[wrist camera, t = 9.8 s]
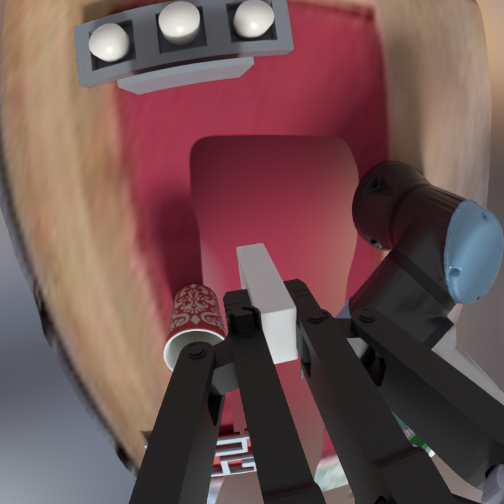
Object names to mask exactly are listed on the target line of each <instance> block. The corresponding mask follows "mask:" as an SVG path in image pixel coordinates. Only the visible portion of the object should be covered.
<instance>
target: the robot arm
mask: <svg viewBox="0 0 504 504" xmlns="http://www.w3.org/2000/svg"><path fill="white" fill-rule="evenodd" d="M352 216H353V221H354V225H355V227H356V230H357V231H358V233H359V234H360V236H361V237H362V238H363V239H364V240H365V241H367V242H368V243H369V244H370V245H372V246H373V247H375V248H377V249H380V250H385V251H390V252H389V254H388V255H387V256H386V257H385V258H384V259H383V261H382V262H381V263H380V264H379V266H378V267H377V268H376V269H375V270H374V272H373V273H372V274H371V275H370V276H369V278H368V279H367V280H366V281H365V282H364V284H363V285H362V286H361V287H360V288H359V289H358V291H357V292H356V293H355V294H354V295H353V296H351V297H350V298H349V299H348V300H347V303H346V304H345V306H344V307H343V308H342V310H341V311H340V312H339V313H338V315H337V316H336V317H335V318H334V317H332V315H331V314H330V313H329V312H328V311H326V310H323V309H321V308H320V307H319V305H318V303H317V302H316V300H315V299H314V297H313V295H311V292H310V291H309V289H308V287H307V286H306V284H305V283H304V282H302V281H300V280H299V279H294V280H289V281H284V282H283V281H282V279H281V277H280V275H279V273H278V271H277V269H276V268H275V266H274V264H273V262H272V260H271V258H270V256H269V254H268V252H267V250H266V249H265V247H264V244H263V243H261V244H254V245H248V246H241V247H236V249H237V257H238V264H239V271H240V279H241V287H242V290H236V291H230V292H226V294H225V296H224V298H223V302H224V307H225V313H226V320H227V326H228V335H227V336H226V338H225V339H224V340H223V341H221V342H219V343H217V344H215V345H213V346H212V345H211V344H209V343H207V342H203V341H197V342H192V343H189V344H187V345H186V346H184V347H183V348H182V350H181V351H180V354H179V356H178V359H177V362H176V365H175V367H174V370H173V373H172V376H171V379H170V382H169V384H168V387H167V390H166V393H165V396H164V399H163V402H162V404H161V407H160V410H159V413H158V416H157V419H156V422H155V425H154V428H153V431H152V434H151V437H150V440H149V443H148V446H147V449H146V452H145V455H144V458H143V461H142V464H141V467H140V470H139V473H138V476H137V480H136V483H135V486H134V489H133V492H132V495H131V499H130V502H129V504H206V503H207V497H208V491H209V486H210V480H211V474H212V469H213V463H214V457H215V451H216V446H217V440H218V434H219V428H220V423H221V417H222V411H223V406H224V400H225V394H226V393H228V392H230V391H233V390H235V389H237V388H239V389H240V394H241V399H242V404H243V409H244V414H245V419H246V424H247V429H248V433H249V438H250V443H251V447H252V452H253V457H254V461H255V466H256V470H257V475H258V479H259V483H260V487H261V492H262V496H263V501H264V504H326V502H325V499H324V497H323V494H322V491H321V489H320V487H319V485H318V484H317V483H315V481H314V480H313V477H312V474H311V471H310V469H309V466H308V463H307V460H306V457H305V454H304V451H303V448H302V445H301V442H300V440H299V436H298V434H297V431H296V428H295V425H294V422H293V419H292V416H291V413H290V410H289V407H288V404H287V401H286V398H285V395H284V392H283V389H282V386H281V384H280V380H279V377H278V374H277V371H276V368H275V365H274V364H276V363H281V362H286V361H291V360H295V359H298V353H297V350H298V352H299V355H300V357H301V379H303V378H304V375H305V378H306V380H307V383H308V385H309V388H310V390H311V393H312V395H313V397H314V400H315V402H316V405H317V407H318V409H319V412H320V414H321V416H322V419H323V422H324V424H325V426H326V429H327V431H328V434H329V436H330V439H331V441H332V443H333V446H334V448H335V451H336V453H337V456H338V458H339V460H340V463H341V465H342V468H343V470H344V473H345V475H346V477H347V480H348V482H349V485H350V487H351V490H352V492H353V495H354V498H355V504H481V503H478V502H475V501H472V500H469V499H466V498H463V497H461V496H458V495H455V494H452V493H451V492H450V490H449V488H448V487H447V485H446V483H445V481H444V480H443V478H442V476H441V474H440V473H439V471H438V470H437V468H436V466H435V464H434V463H433V461H432V459H431V458H430V456H429V454H428V453H427V452H426V450H425V449H423V448H422V447H414V446H413V445H411V443H410V442H409V440H408V438H407V437H406V435H405V433H404V432H403V430H402V428H401V427H400V425H399V423H398V422H397V420H396V418H395V417H394V415H393V413H394V414H395V415H396V416H397V417H398V418H399V419H401V420H402V421H403V422H404V423H405V424H406V425H407V426H408V427H409V428H410V429H411V430H412V431H413V432H414V433H415V434H416V435H417V436H418V437H419V438H420V439H421V440H422V441H423V442H424V443H425V444H426V445H427V446H428V447H429V448H430V449H431V450H432V451H434V452H435V453H436V454H437V455H438V456H439V457H440V458H441V459H442V460H443V461H444V462H445V463H446V464H447V465H448V466H449V467H450V468H451V469H452V470H453V471H455V473H457V474H458V475H459V476H460V477H461V478H463V480H465V481H466V482H468V483H469V484H471V485H472V486H474V487H475V488H477V489H479V490H482V491H483V495H482V498H481V501H482V504H504V393H503V392H502V391H501V390H500V389H499V388H498V387H497V386H496V384H494V382H493V381H492V380H491V379H490V378H489V377H488V376H487V375H486V374H485V373H484V372H483V370H482V369H481V368H480V367H479V366H478V365H477V364H476V363H475V362H474V361H473V360H472V359H471V358H470V357H469V356H468V355H467V354H466V353H465V351H463V349H462V348H460V346H459V345H458V344H457V342H456V325H455V324H454V323H453V322H452V321H451V320H450V319H448V317H447V315H448V314H449V312H450V311H451V310H452V309H453V307H454V306H455V305H456V304H457V303H459V304H464V305H469V304H473V303H475V302H476V300H479V299H481V298H482V297H483V296H484V295H485V294H486V293H487V292H488V290H489V289H490V287H491V286H492V284H493V282H494V280H495V279H496V276H497V274H498V271H499V268H500V265H501V261H502V257H503V247H504V240H503V232H502V229H501V226H500V223H499V221H498V219H497V218H496V217H495V215H493V213H491V212H490V211H488V210H487V209H485V208H483V207H481V206H480V205H478V204H477V203H476V202H475V201H473V200H468V199H465V198H463V197H461V196H458V195H456V194H453V193H451V192H448V191H446V190H443V189H441V188H438V187H436V186H433V185H431V184H430V182H429V181H428V180H427V179H426V178H425V177H424V176H423V175H422V174H421V173H420V172H419V171H418V170H417V169H415V168H414V167H412V166H410V165H407V164H404V163H401V162H396V161H390V162H384V163H381V164H379V165H377V166H375V167H374V168H372V169H371V170H370V171H369V172H368V173H367V174H366V175H365V176H364V177H363V178H362V180H361V181H360V183H359V185H358V187H357V189H356V192H355V194H354V198H353V204H352ZM391 411H392V412H393V413H392V412H391Z"/></svg>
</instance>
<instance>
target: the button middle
mask: <svg viewBox="0 0 504 504" xmlns="http://www.w3.org/2000/svg"><path fill="white" fill-rule="evenodd" d="M199 22H200V15H199V11H198V9H197V8H196V7H195V6H194V5H193V4H191V3H188V2H184V1H179V2H174V3H171V4H169V5H168V6H166V7H165V8H164V9H163V10H162V11H161V13H160V15H159V25H160V28H161V30H162V33H163V35H164V37H165V39H166V40H167V41H168V42H169V43H171V44H174V45H185V44H188V43H190V42H191V41H193V40H194V39H195V38H196V37H197V35H198V32H199Z"/></svg>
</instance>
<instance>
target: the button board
mask: <svg viewBox="0 0 504 504" xmlns="http://www.w3.org/2000/svg"><path fill="white" fill-rule="evenodd" d="M179 1H184V2H188V3H191V4H193V5H194V6H195V7H196V8H197V9H198V11H199V15H200V22H199V32H198V35H197V37H196V38H195V39H194V40H193V41H191V42H190V43H188V44H185V45H174V44H171V43H169V42H168V41H167V40H166V39H165V37H164V35H163V33H162V30H161V28H160V25H159V15H160V13H161V11H162V10H163V9H164V8H165V7H166V6H168V5H169V4H171V3H174V2H179ZM245 1H248V0H174V1H169V2H163V3H158V4H153V5H148V6H144V7H140V8H135V9H131V10H127V11H123V12H120V13H116V14H112V15H109V16H105V17H102V18H99V19H96V20H92V21H89V22H86V23H83V24H80V25H78V26H75V27H74V30H75V46H76V58H77V68H78V77H79V86H81V87H86V88H91V87H95V86H98V85H101V84H105V83H108V82H112V81H116V80H119V79H123V78H127V77H131V76H135V75H139V74H143V73H148V72H152V71H157V70H162V69H167V68H172V67H177V66H183V65H189V64H195V63H202V62H209V61H216V60H224V59H233V58H243V57H256V56H271V55H286V54H288V53H289V52H291V51H293V50H294V46H293V39H292V32H291V26H290V19H289V13H288V7H287V1H286V0H261V1H263V2H265V3H267V4H268V5H269V6H270V7H271V8H272V10H273V12H274V21H273V23H272V25H271V26H270V27H269V28H268V29H267V30H266V31H265V33H264V34H263V35H262V36H261V37H259V38H258V39H255V40H244V39H241V38H239V37H238V36H237V35H236V34H235V33H234V31H233V29H232V21H233V19H234V16H235V14H236V11H237V9H238V7H239V6H240V5H241V4H242V3H243V2H245ZM109 23H113V24H117V25H119V26H120V27H121V28H122V29H123V30H124V31H125V32H126V34H127V35H128V36H129V37H130V39H131V41H132V50H131V52H130V54H129V55H128V56H127V58H125V59H124V60H123V61H121V62H118V63H108V62H106V61H104V60H102V59H100V58H99V57H97V56H95V55H94V54H93V53H92V52H91V51H90V49H89V39H90V37H91V35H92V33H93V32H94V31H95V30H96V29H97V28H98V27H100V26H102V25H104V24H109Z"/></svg>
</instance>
